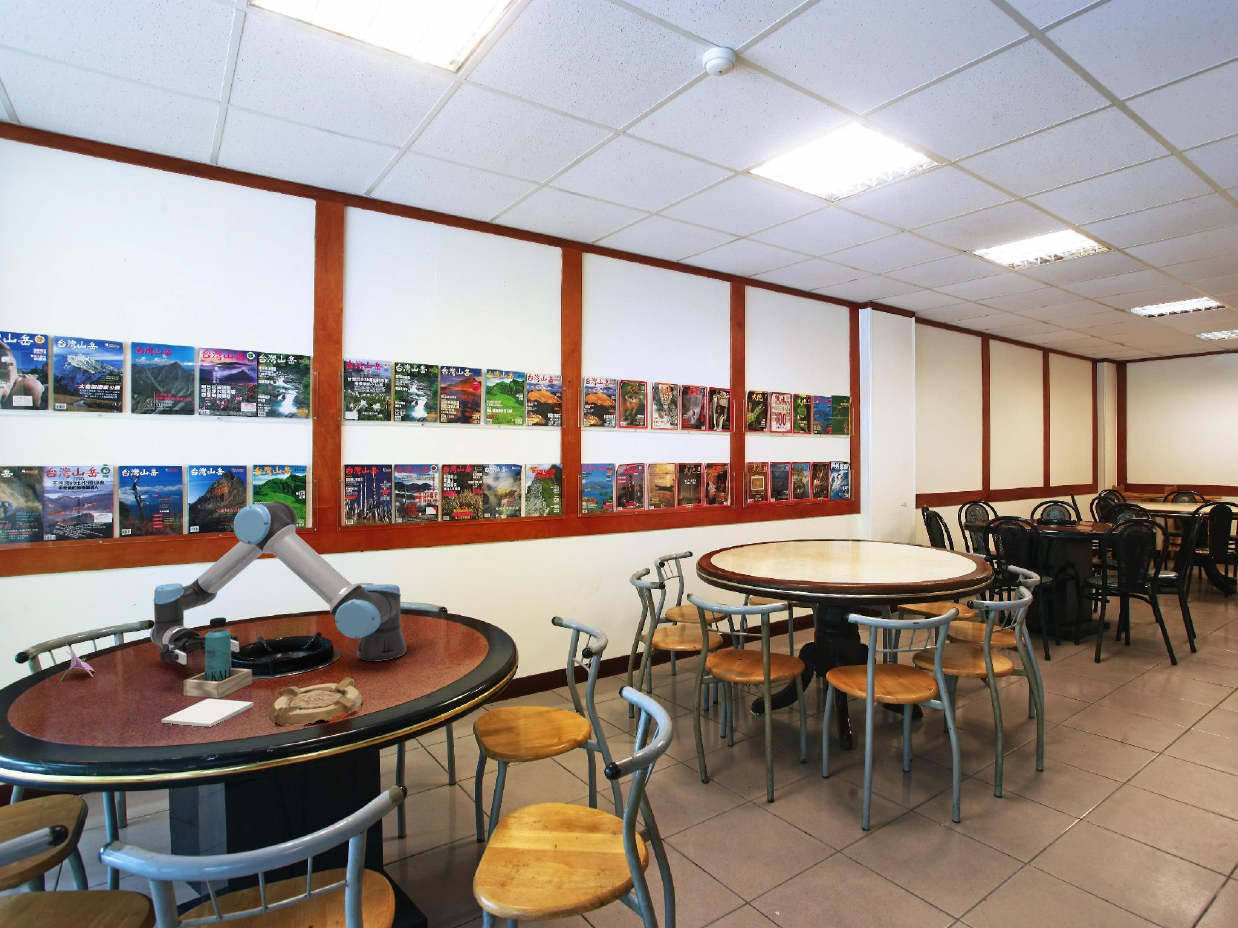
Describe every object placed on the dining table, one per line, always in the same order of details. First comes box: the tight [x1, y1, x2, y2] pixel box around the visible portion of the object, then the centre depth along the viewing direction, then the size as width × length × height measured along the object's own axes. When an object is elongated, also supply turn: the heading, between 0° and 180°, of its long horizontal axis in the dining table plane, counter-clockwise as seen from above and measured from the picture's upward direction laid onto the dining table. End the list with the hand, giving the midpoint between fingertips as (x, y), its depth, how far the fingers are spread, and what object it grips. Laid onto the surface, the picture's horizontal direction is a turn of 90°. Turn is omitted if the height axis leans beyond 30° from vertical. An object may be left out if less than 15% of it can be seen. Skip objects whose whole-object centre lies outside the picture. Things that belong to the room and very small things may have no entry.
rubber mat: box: [161, 698, 254, 728], centre depth 167 cm, size 14×14×1 cm
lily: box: [59, 643, 95, 682], centre depth 195 cm, size 12×12×10 cm
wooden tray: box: [183, 667, 253, 699], centre depth 185 cm, size 12×12×4 cm
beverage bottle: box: [204, 616, 233, 682], centre depth 185 cm, size 6×7×20 cm
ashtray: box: [268, 676, 363, 726], centre depth 171 cm, size 24×24×5 cm
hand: (212, 653), depth 186 cm, fingers open, 13 cm apart
